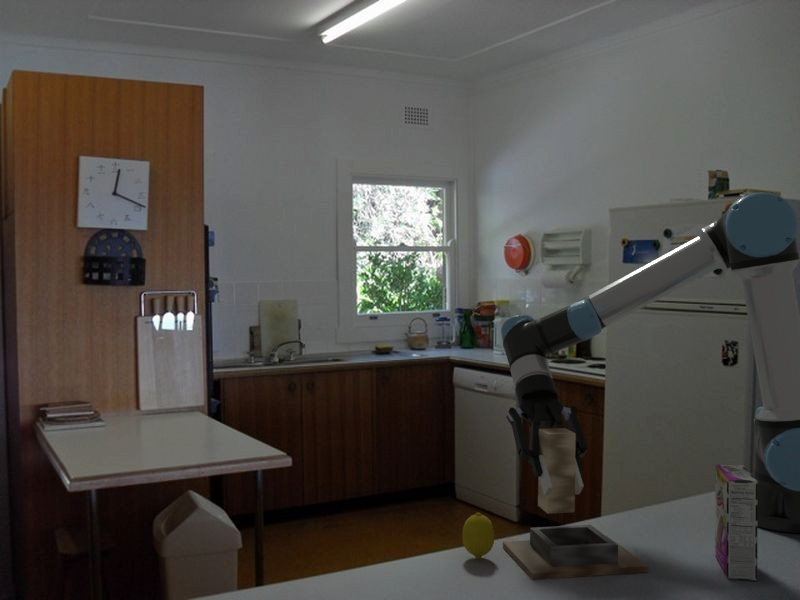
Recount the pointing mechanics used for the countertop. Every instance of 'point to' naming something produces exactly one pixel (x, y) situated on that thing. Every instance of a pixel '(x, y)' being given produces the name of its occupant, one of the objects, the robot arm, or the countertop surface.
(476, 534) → the lemon
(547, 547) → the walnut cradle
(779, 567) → the countertop surface
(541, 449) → the maple post
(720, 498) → the candy bar box
